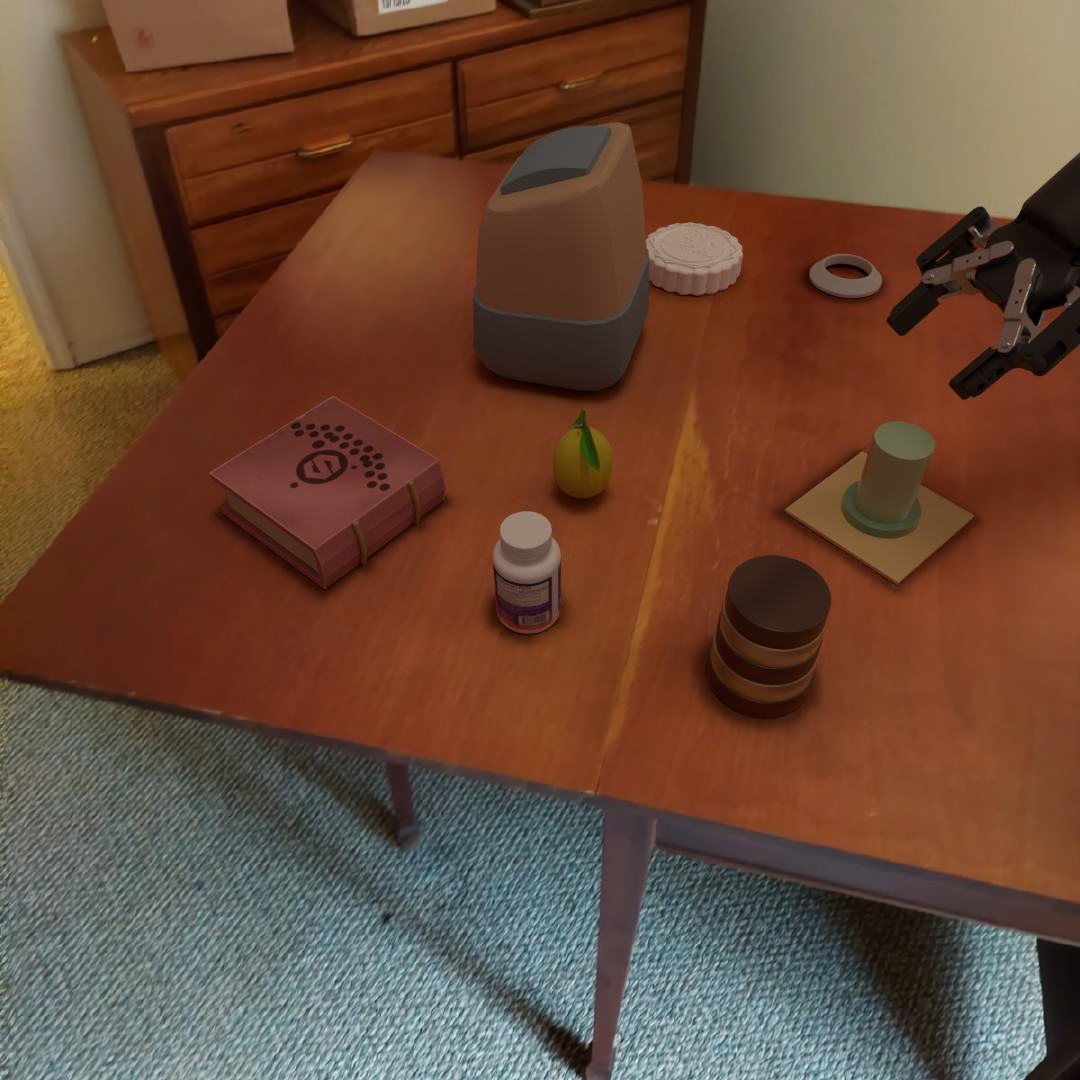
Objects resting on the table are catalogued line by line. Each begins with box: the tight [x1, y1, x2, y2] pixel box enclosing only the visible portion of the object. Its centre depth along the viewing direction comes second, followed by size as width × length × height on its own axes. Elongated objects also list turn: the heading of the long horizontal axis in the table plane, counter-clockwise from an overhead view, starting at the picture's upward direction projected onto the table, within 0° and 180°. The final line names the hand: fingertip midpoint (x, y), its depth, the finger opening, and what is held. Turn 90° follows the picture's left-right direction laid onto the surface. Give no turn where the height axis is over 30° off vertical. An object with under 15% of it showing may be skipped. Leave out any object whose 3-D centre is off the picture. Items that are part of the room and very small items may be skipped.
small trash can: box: [472, 121, 650, 392], centre depth 96 cm, size 17×17×23 cm
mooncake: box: [646, 221, 744, 297], centre depth 115 cm, size 12×12×4 cm
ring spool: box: [841, 420, 936, 538], centre depth 84 cm, size 7×7×8 cm
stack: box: [705, 554, 832, 719], centre depth 71 cm, size 8×8×10 cm
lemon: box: [552, 408, 614, 499], centre depth 85 cm, size 7×6×10 cm
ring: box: [808, 253, 883, 299], centre depth 114 cm, size 8×8×2 cm
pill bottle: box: [492, 510, 562, 635], centre depth 76 cm, size 5×5×10 cm
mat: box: [784, 450, 975, 586], centre depth 87 cm, size 12×12×1 cm
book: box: [208, 395, 447, 590], centre depth 86 cm, size 14×15×5 cm
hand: (923, 359), depth 72 cm, fingers open, 8 cm apart
